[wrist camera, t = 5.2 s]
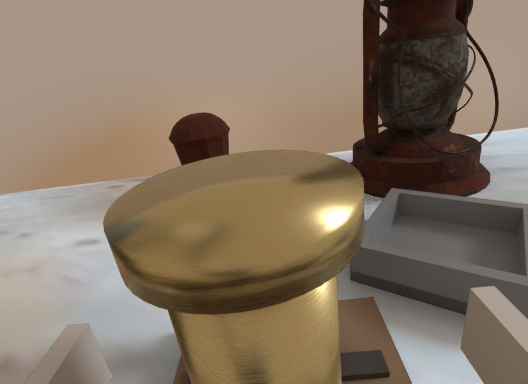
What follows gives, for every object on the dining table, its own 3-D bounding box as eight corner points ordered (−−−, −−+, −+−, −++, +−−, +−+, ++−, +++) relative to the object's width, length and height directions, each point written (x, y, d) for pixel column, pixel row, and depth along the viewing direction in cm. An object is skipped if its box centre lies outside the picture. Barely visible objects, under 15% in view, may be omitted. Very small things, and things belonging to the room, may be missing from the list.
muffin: (208, 179, 55) (197, 121, 51) (164, 174, 60) (150, 122, 57) (246, 157, 64) (238, 107, 60) (204, 155, 70) (195, 109, 66)
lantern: (422, 217, 34) (451, -150, 23) (318, 174, 50) (304, -55, 39) (522, 172, 42) (583, -124, 30) (403, 147, 58) (413, -53, 46)
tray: (350, 279, 27) (349, 244, 25) (390, 216, 35) (391, 187, 34) (536, 335, 20) (549, 291, 18) (529, 240, 28) (537, 205, 27)
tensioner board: (63, 864, 8) (-403, 745, 3) (196, 329, 24) (153, 172, 19) (603, 860, 7) (1072, 706, 2) (372, 313, 23) (375, 146, 18)
